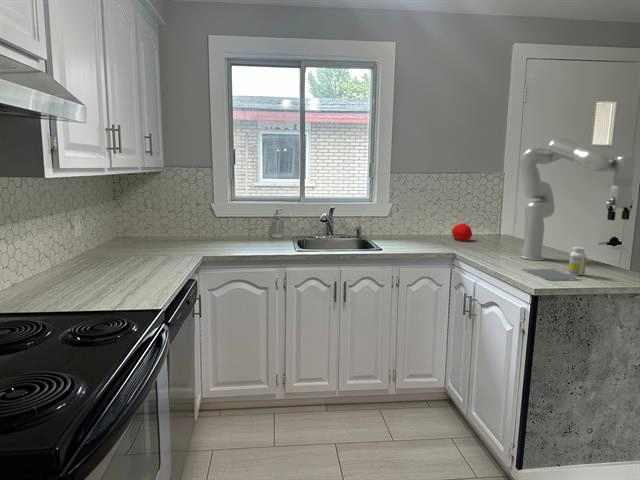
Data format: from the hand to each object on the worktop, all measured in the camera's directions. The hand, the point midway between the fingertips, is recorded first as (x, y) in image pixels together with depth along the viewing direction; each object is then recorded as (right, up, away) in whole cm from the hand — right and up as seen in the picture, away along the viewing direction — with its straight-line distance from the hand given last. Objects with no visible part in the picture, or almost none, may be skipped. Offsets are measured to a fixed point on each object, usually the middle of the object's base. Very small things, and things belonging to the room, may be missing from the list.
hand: (618, 219), depth 206 cm
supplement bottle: (-19, -26, +1) cm, 32 cm away
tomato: (-43, -10, +94) cm, 104 cm away
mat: (-32, -26, -1) cm, 41 cm away
